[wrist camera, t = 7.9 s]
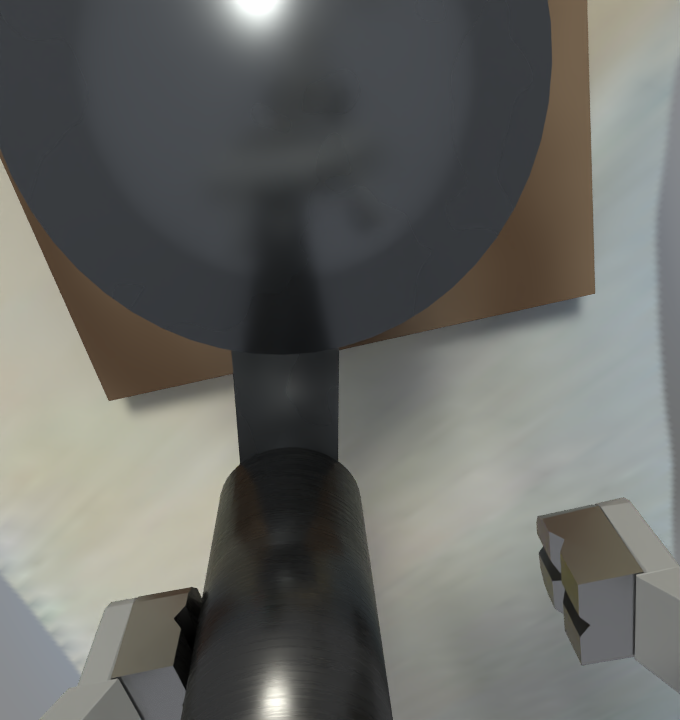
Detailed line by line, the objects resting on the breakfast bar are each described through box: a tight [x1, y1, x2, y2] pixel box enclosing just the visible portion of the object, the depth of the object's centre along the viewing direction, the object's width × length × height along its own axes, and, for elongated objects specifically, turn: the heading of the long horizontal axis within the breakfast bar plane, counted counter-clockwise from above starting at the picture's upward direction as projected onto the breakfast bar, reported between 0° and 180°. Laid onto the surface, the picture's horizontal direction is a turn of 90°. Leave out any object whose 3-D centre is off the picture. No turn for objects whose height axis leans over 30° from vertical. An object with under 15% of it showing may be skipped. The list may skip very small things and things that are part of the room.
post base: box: [0, 0, 595, 401], centre depth 16 cm, size 18×18×9 cm
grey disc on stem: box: [0, 0, 552, 720], centre depth 9 cm, size 14×8×8 cm, turn 0°
